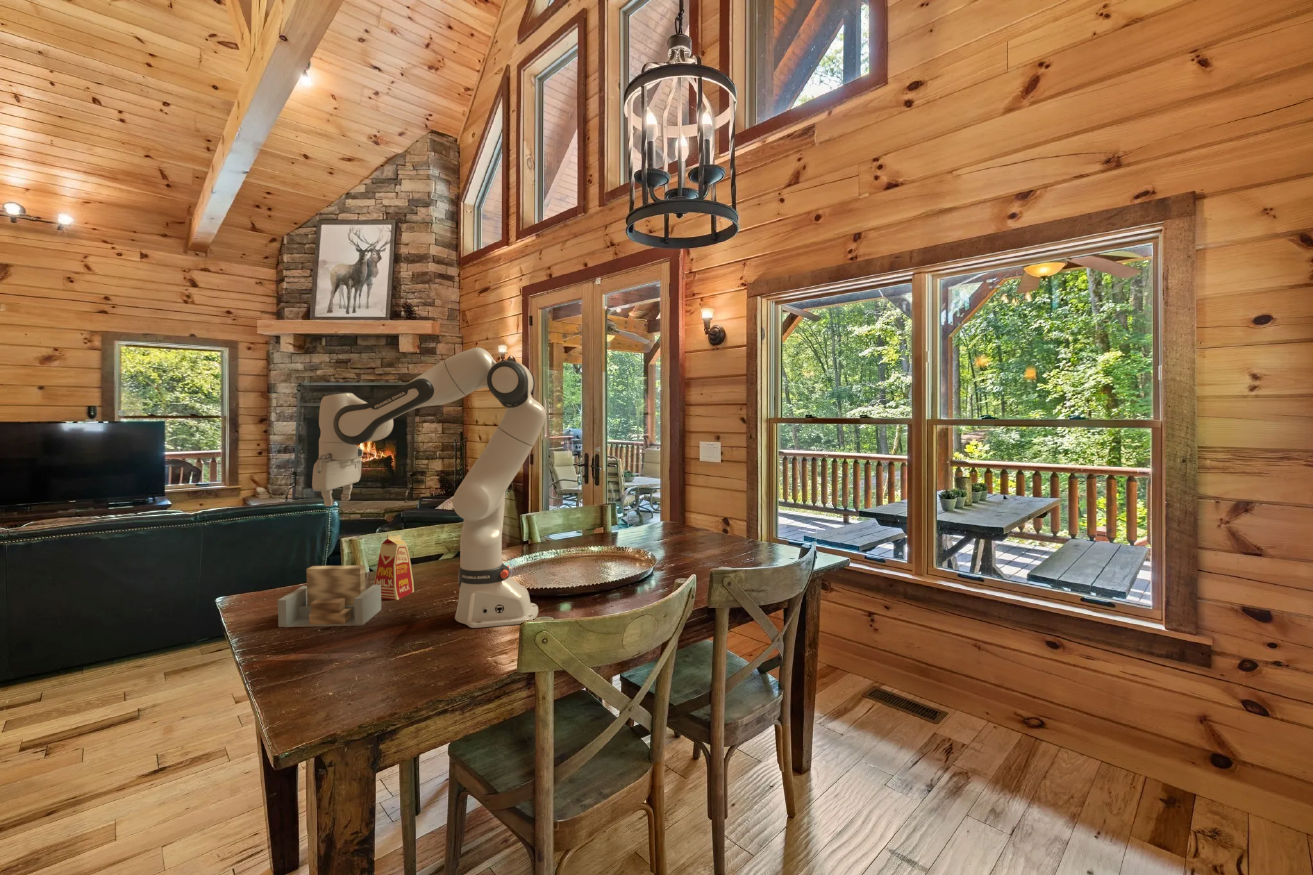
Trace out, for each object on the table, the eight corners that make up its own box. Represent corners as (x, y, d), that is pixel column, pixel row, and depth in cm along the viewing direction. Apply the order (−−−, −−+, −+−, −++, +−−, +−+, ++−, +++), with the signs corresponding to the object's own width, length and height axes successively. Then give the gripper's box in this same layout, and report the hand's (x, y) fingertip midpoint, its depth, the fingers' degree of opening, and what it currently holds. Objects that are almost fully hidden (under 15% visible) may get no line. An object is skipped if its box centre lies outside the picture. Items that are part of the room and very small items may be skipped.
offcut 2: (351, 618, 155) (351, 608, 155) (345, 623, 151) (344, 613, 151) (316, 619, 154) (316, 609, 154) (309, 624, 151) (308, 613, 150)
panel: (365, 611, 160) (364, 565, 160) (361, 615, 157) (360, 568, 157) (313, 612, 159) (312, 566, 159) (307, 616, 156) (306, 569, 156)
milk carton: (397, 603, 170) (396, 536, 169) (370, 601, 172) (369, 535, 171) (416, 594, 179) (415, 530, 178) (390, 592, 181) (389, 529, 180)
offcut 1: (345, 608, 155) (344, 598, 155) (339, 612, 151) (339, 602, 151) (316, 609, 154) (316, 599, 154) (311, 614, 150) (310, 603, 150)
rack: (381, 613, 162) (380, 584, 162) (362, 629, 150) (362, 598, 150) (303, 614, 161) (302, 585, 160) (278, 631, 149) (277, 600, 149)
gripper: (330, 455, 146) (330, 509, 147) (365, 450, 167) (365, 497, 167) (305, 455, 146) (304, 509, 146) (343, 449, 166) (342, 497, 167)
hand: (337, 503), depth 157 cm, fingers open, 8 cm apart
